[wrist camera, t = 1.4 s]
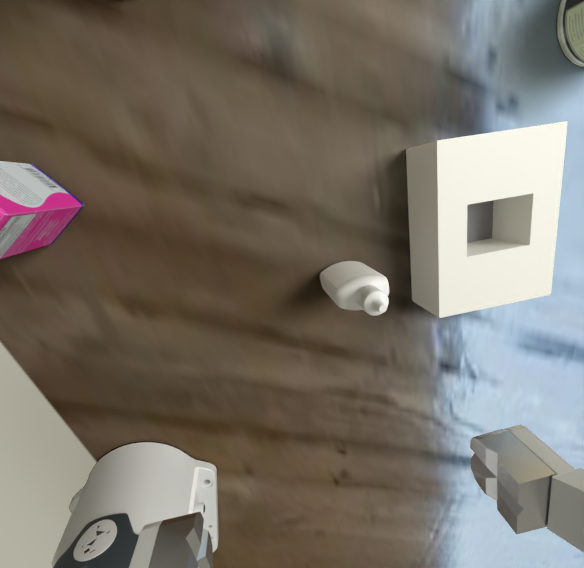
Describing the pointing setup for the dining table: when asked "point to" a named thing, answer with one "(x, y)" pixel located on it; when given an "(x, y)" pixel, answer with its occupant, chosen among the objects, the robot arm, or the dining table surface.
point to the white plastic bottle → (356, 287)
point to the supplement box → (31, 208)
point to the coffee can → (571, 30)
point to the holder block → (484, 217)
